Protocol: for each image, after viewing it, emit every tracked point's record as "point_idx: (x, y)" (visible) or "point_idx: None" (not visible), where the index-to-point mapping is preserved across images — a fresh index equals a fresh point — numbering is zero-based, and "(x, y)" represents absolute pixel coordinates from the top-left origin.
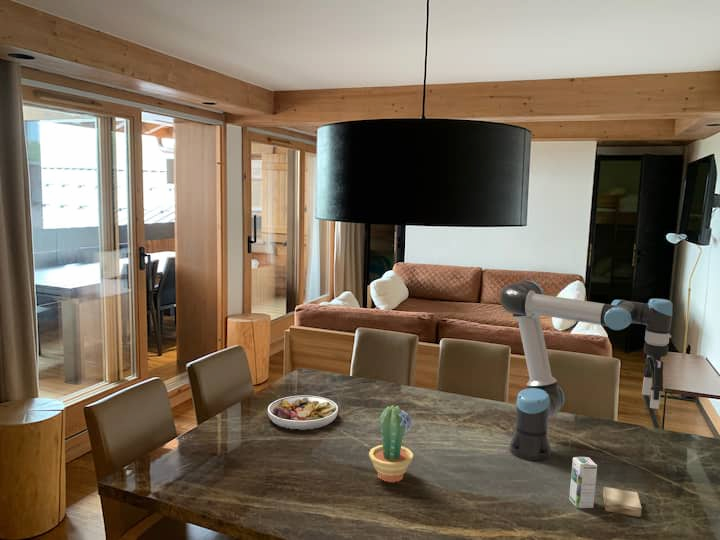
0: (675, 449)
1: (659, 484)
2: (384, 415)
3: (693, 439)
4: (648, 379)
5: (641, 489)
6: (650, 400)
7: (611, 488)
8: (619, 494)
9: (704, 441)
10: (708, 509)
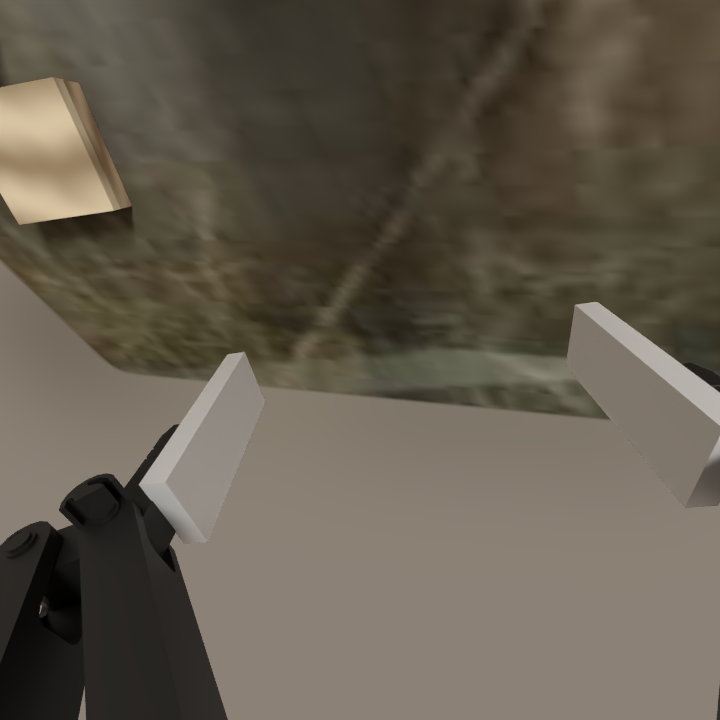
0: None
1: (295, 275)
2: None
3: None
4: (682, 457)
5: (225, 221)
6: (221, 387)
7: (66, 113)
8: (46, 147)
9: None
10: None
